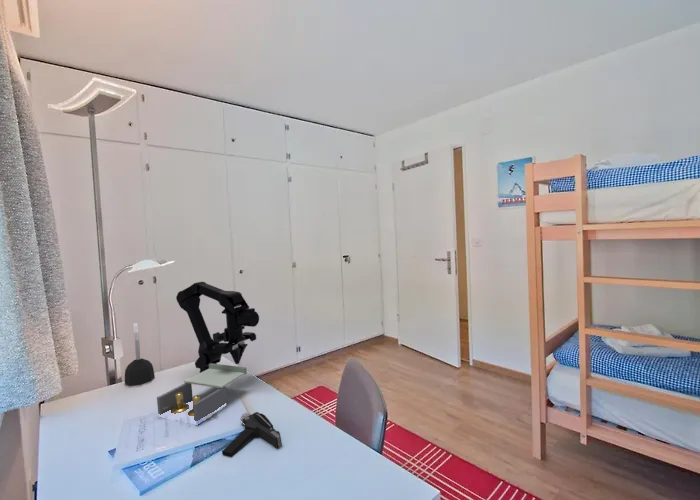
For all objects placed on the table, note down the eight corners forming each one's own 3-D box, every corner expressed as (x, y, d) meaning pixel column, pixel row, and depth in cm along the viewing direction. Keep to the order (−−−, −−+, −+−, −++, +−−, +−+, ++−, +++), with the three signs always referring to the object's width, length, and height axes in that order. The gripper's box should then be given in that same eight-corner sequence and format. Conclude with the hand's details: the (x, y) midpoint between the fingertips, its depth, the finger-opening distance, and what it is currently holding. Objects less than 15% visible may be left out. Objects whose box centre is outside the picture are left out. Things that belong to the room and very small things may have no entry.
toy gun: (233, 461, 88) (285, 430, 97) (204, 426, 103) (252, 402, 113) (236, 477, 89) (287, 445, 98) (207, 440, 104) (254, 416, 114)
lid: (211, 368, 137) (210, 363, 137) (246, 373, 131) (246, 367, 131) (184, 382, 125) (183, 376, 125) (221, 388, 119) (221, 381, 119)
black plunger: (124, 381, 149) (119, 323, 148) (153, 374, 155) (149, 318, 154) (124, 390, 140) (119, 328, 138) (156, 382, 146) (151, 323, 144)
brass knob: (197, 410, 118) (196, 391, 118) (210, 413, 116) (209, 393, 116) (184, 419, 113) (182, 399, 113) (197, 421, 111) (195, 401, 111)
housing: (190, 400, 127) (188, 381, 127) (227, 407, 121) (225, 386, 121) (158, 419, 115) (156, 397, 115) (197, 427, 109) (196, 404, 109)
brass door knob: (181, 407, 121) (179, 389, 121) (193, 409, 119) (191, 391, 119) (167, 415, 116) (165, 396, 116) (179, 418, 114) (178, 398, 114)
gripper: (234, 318, 149) (236, 354, 150) (200, 330, 132) (203, 370, 133) (255, 319, 145) (258, 356, 146) (223, 331, 128) (226, 374, 129)
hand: (237, 363), depth 138 cm, fingers closed
